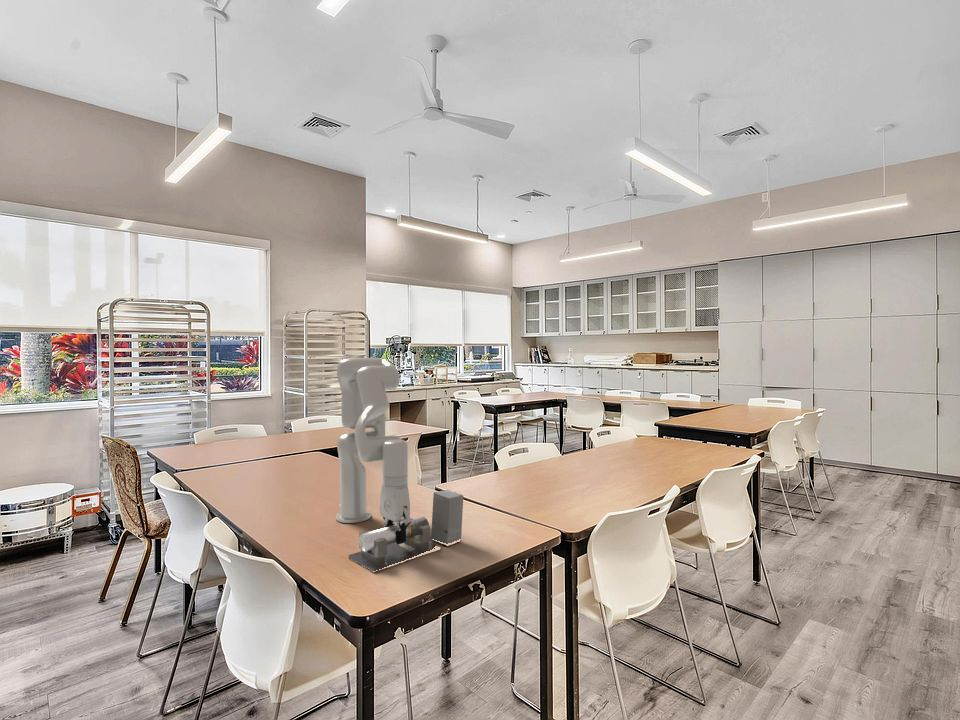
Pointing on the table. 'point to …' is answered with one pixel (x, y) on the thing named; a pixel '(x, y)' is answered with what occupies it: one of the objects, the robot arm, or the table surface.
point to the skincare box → (447, 516)
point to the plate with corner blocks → (394, 550)
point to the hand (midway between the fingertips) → (395, 539)
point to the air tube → (390, 534)
